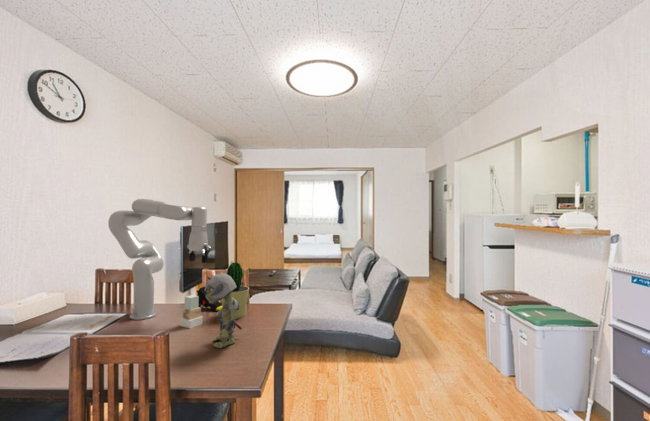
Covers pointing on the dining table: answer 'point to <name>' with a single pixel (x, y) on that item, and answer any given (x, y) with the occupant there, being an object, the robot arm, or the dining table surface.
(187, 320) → the tower base
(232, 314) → the toy
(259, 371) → the dining table surface
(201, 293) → the toy gun
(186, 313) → the tower top
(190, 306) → the sage block
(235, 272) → the potted cactus
